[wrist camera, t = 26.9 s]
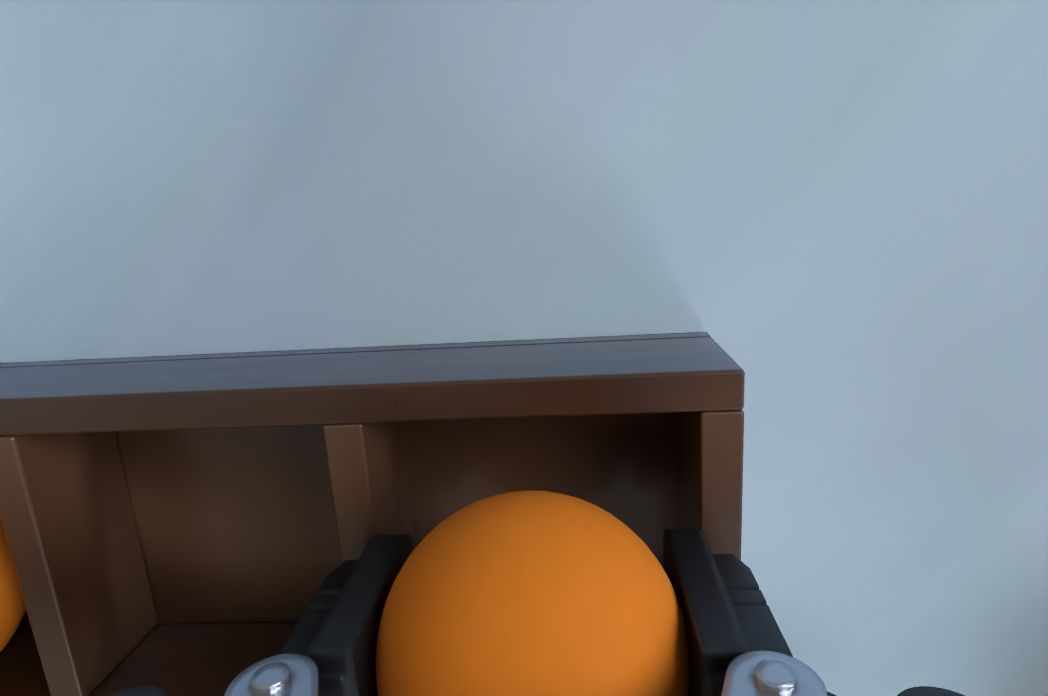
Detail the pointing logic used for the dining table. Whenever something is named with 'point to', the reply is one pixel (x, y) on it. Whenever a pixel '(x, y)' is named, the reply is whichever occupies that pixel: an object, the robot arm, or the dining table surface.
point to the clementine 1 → (8, 594)
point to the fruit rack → (319, 481)
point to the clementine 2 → (532, 607)
